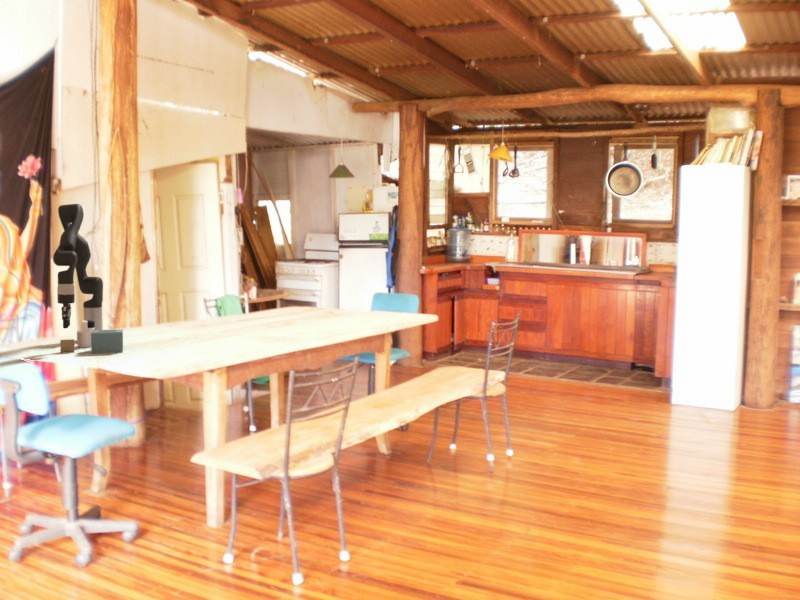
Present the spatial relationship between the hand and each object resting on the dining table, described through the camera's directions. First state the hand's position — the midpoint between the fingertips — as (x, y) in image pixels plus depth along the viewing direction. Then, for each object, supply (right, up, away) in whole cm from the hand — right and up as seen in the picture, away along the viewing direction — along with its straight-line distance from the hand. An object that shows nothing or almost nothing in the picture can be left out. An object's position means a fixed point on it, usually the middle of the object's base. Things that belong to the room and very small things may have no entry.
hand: (66, 327), depth 391 cm
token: (0, -12, +1) cm, 12 cm away
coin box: (+18, -12, +6) cm, 22 cm away
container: (+2, -10, +21) cm, 23 cm away
